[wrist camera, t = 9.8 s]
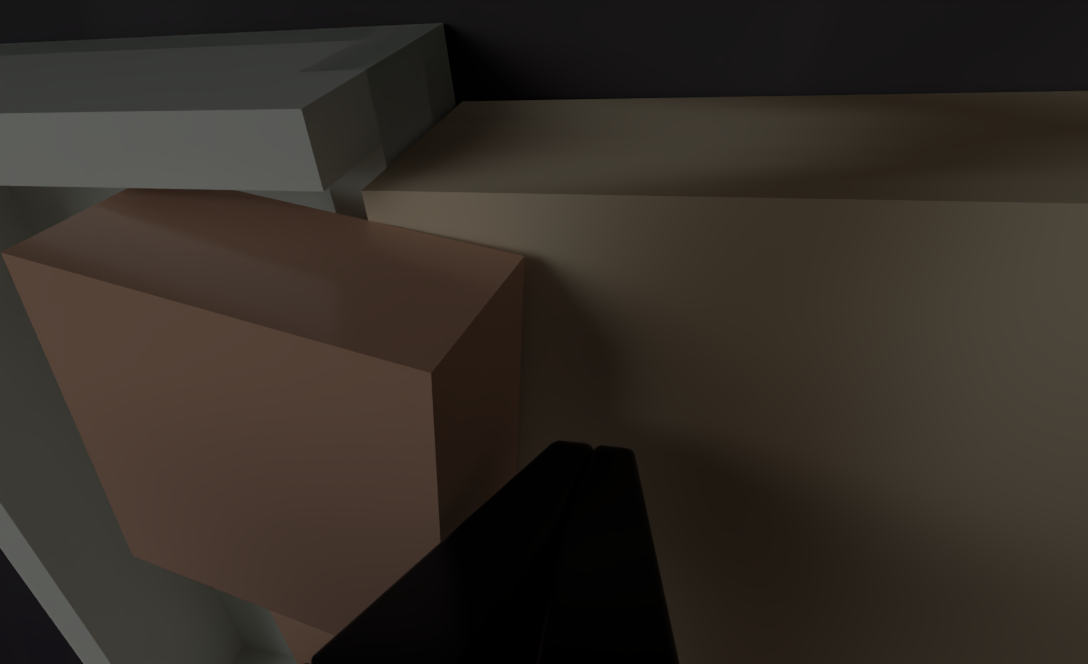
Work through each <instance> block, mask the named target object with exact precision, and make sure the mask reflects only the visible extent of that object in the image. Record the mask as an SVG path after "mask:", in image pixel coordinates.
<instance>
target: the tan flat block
mask: <svg viewBox="0 0 1088 664" xmlns="http://www.w3.org/2000/svg"><path fill="white" fill-rule="evenodd" d="M361 192H362V196H363V200H364V205H365V209H366V213H367V217H368V221H373V222H377V223H382V224H386V225H390V226H395V227H399V228H404V229H408V230H412V231H417V232H421V233H425V234H430V235H434V236H439V237H443V238H447V239H452V240H456V241H461V242H465V243H469V244H474V245H478V246H482V247H487V248H491V249H496V250H500V251H504V252H509V253H513V254H518V255H522V256H524V282H523V312H522V341H521V371H520V400H519V430H518V459H517V473H519V472H520V471H521V470H522V469H523V468H524V467H525V466H526V465H528V464H529V463H530V462H531V461H532V460H533V459H534V458H535V457H537V456H538V455H539V454H540V453H541V452H542V451H543V450H544V449H546V448H547V447H548V446H549V445H550V444H551V443H553V442H555V441H558V440H563V441H571V442H580V443H587V444H589V445H590V446H592V447H593V450H594V449H595V448H596V447H597V446H599V445H606V446H615V447H623V448H630V449H631V450H633V452H634V453H635V457H636V462H637V466H638V471H639V476H640V480H641V485H642V490H643V494H644V499H645V504H646V508H647V513H648V518H649V523H650V527H651V532H652V537H653V541H654V546H655V551H656V555H657V560H658V565H659V570H660V574H661V579H662V584H663V588H664V593H665V598H666V602H667V607H668V612H669V616H670V621H671V626H672V631H673V635H674V640H675V645H676V649H677V654H678V659H679V663H680V664H1088V91H1054V92H995V93H935V94H875V95H815V96H756V97H696V98H636V99H576V100H517V101H462V102H461V103H460V104H459V105H458V106H457V107H455V108H454V109H453V110H452V111H451V112H450V113H449V114H447V115H446V116H445V117H444V118H443V119H442V120H441V121H440V122H438V123H437V124H436V125H435V126H434V127H433V128H432V129H430V130H429V131H428V132H427V133H426V134H425V135H424V136H423V137H421V138H420V139H419V140H418V141H417V142H416V143H415V144H413V145H412V146H411V147H410V148H409V149H408V150H407V151H405V152H404V153H403V154H402V155H401V156H400V157H399V158H398V159H396V160H395V161H394V162H393V163H392V164H391V165H390V166H388V167H387V168H386V169H385V170H384V171H383V172H382V173H380V174H379V175H378V176H377V177H376V178H375V179H374V180H373V181H371V182H370V183H369V184H368V185H367V186H366V187H365V188H363V189H362V190H361Z"/></svg>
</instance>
